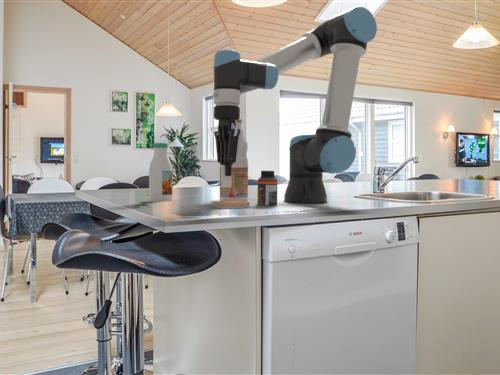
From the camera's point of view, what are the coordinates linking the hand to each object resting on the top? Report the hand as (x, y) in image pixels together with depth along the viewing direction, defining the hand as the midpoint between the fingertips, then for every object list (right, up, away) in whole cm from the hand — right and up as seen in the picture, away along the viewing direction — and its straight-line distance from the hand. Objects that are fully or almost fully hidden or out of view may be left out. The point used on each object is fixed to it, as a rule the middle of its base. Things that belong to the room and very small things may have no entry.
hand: (226, 187), depth 129 cm
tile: (-1, -5, +1) cm, 5 cm away
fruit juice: (+1, -6, +19) cm, 20 cm away
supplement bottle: (+12, -7, +5) cm, 15 cm away
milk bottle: (-23, -5, +20) cm, 31 cm away
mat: (-3, -7, -2) cm, 8 cm away
